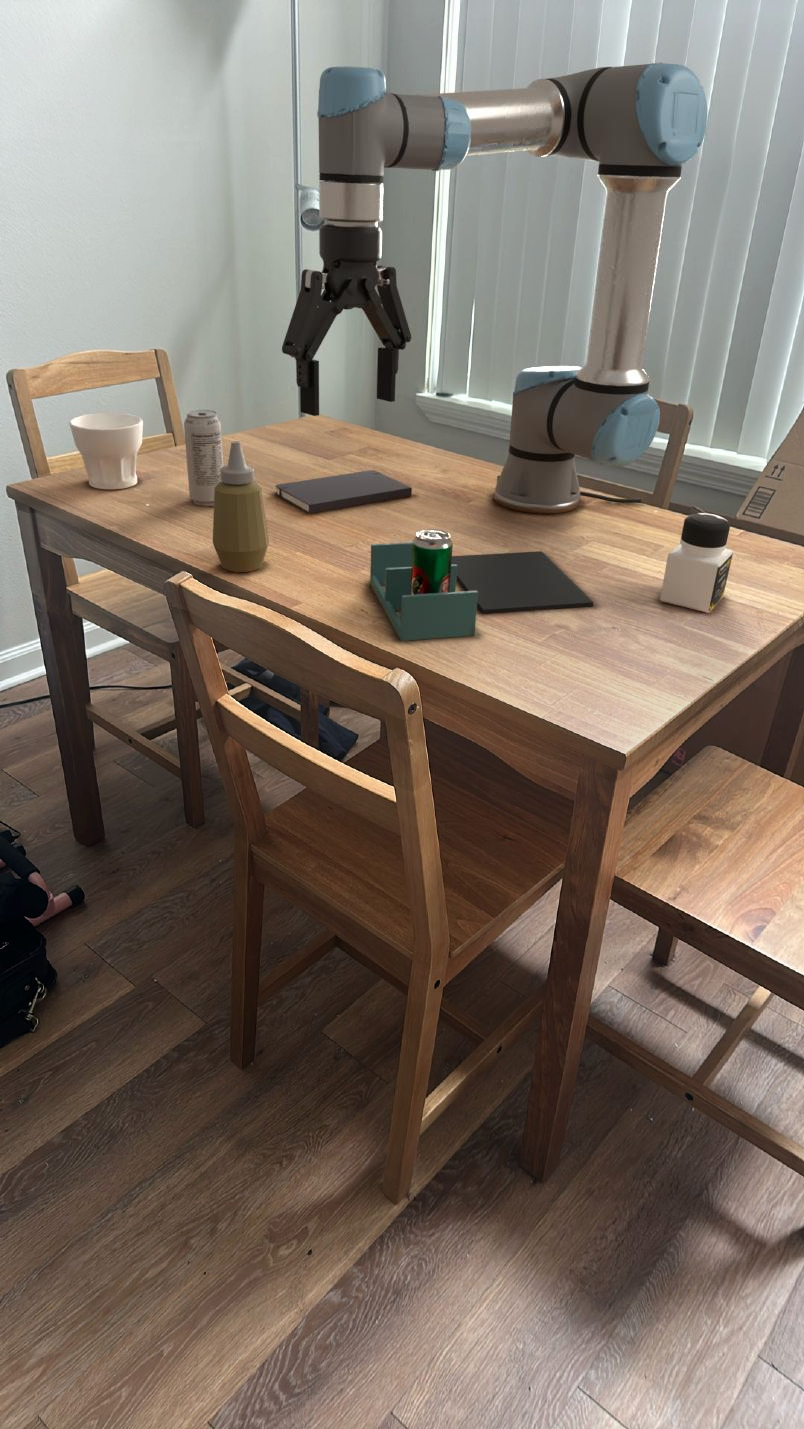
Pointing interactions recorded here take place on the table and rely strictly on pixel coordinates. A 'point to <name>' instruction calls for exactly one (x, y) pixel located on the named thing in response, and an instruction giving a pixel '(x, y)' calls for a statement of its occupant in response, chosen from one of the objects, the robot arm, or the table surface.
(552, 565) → the mat
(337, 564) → the table surface
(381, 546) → the frame
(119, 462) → the cup
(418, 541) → the soda can
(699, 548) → the medicine bottle
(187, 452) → the energy drink can
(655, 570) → the table surface
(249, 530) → the squeeze bottle
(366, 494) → the notebook
